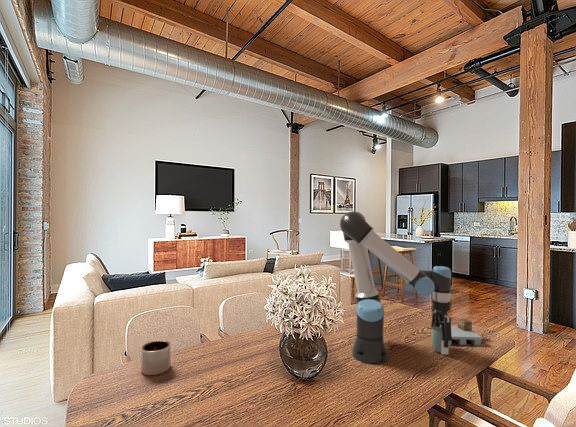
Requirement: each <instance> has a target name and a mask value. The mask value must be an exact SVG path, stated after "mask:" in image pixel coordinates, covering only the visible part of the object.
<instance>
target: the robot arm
mask: <svg viewBox="0 0 576 427" xmlns="http://www.w3.org/2000/svg"><path fill="white" fill-rule="evenodd" d="M339 226H340V227H339V228H340V230H341V232H342V234H343V239H344V242H346V243H347V244H348V250H349V255H350V259H351V265H352V270H353V274H354V275H353V276H354V281H355V286H356V290H357V291H356V293H355V294H354V296H355V302H356V336H355V337H356V338H355V340H354V343H353V346H352V348H351V349H352V352H351V353H352V354H351V355H352V356H353V358H354V359H357V360H358V361H360V362H363V363H367V364H381V363H384V362H386V361H387V360H388V351H387V348H386V343H385V341H384V332H385V330H384V321H385V320H384V318H385V317H384V316H385V308H384V305H383V303H382V301H381V296H380V292H379V290H377V289H376V287H375V281H374V276H373V271H372V266H371V261H370V255H369V251H370V253H372V254H373V255H374V256H376V257H377V259H379V260H380V261H381V262H383V263H384V264H385V265H386V266H388V268H390V269H391V270H392V271H394V273H395V274H397V275H398V276H399V277H400V278H402V279H403V280H404V281H405V284H406V286H409V287H410V286H411V287H412V288H414V289H415V291H416V293H417V294H419V295H421V296H424V297H426V296H430V295H432V301H431V303H432V305H431V306H432V308H431V311H432V312H431V313H432V315H431V324H430V327H431V329H432V327H440V326H441V330H442V336H443V339H441V340H442V353H441V355H449V351H448V349H449V350H450V348H449V341H453V339H452V336H451V326H452V317H449V316H448V312H449V311H451V308H452V306H451V301H452V300H451V296H452V292H451V289H452V270H451V268H449V267H447V266H442V265H439V266H438V265H436V266H433V268H432V270H422V269H420V268H418V267H417V266H415V265H414V264H413V263H412V262H411V261H410V260H408V259H407V258H406V257H405V256H403V255H402V254H401V253H400V252H399V251H398V250H396V249H395V248H394V247H393V246H391V245H390V244H389V243H388V242H387V241H386V240H384V239H383V238H382V237H381V236H379V235H378V234H377V233H376V232H375V231H374V227H372V226H371V225H370V224H369V223H368V222H367V221H366V217H365V215H363V214H362V213H361V212H359V211H349V212H346V213H345V214H343V216H342V217H341V218H340V222H339Z"/></svg>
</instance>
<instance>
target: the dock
mask: <svg viewBox="0 0 576 427" xmlns="http://www.w3.org/2000/svg"><path fill="white" fill-rule="evenodd" d="M440 327H441V325H440ZM451 336H452V341H454V342H456V343H457V344H458V345H459V346H467V341H468V342H469V343H471V344H472V345H473V346H482V340H483V337H482V336H481V335H480V334H478V333H477V332H476V331H474V330H472V331H463V330H461V329H459V328H458V325H451ZM452 341H450V346H451V345H453V344H452V343H453V342H452Z"/></svg>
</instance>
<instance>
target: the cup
mask: <svg viewBox="0 0 576 427" xmlns="http://www.w3.org/2000/svg"><path fill="white" fill-rule="evenodd" d="M430 334H431V336H430V337H431V338H430V339H431V346H432V348H433V350H434V351H435V352H436V353H440V354H442V340H441V339H443V336H442V330H441V327H432V328H431V333H430ZM450 346H451V345H450V341H449V349H448V352H449V350H450Z"/></svg>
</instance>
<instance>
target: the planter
mask: <svg viewBox="0 0 576 427" xmlns="http://www.w3.org/2000/svg"><path fill="white" fill-rule="evenodd" d="M140 355H141V357H140V358H141V359H140V360H141V361H140V363H141V364H140V370H141V373H142V374H143V375H145V376H150V375H153V376H158V374H159V375H162V374H164V373H165V371H166V372H167V371H168V370H170V368H171V342H170V341H169V340H161V339H160V340H152V341H150V342H147V343H145V344H142V346H141V354H140Z"/></svg>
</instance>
